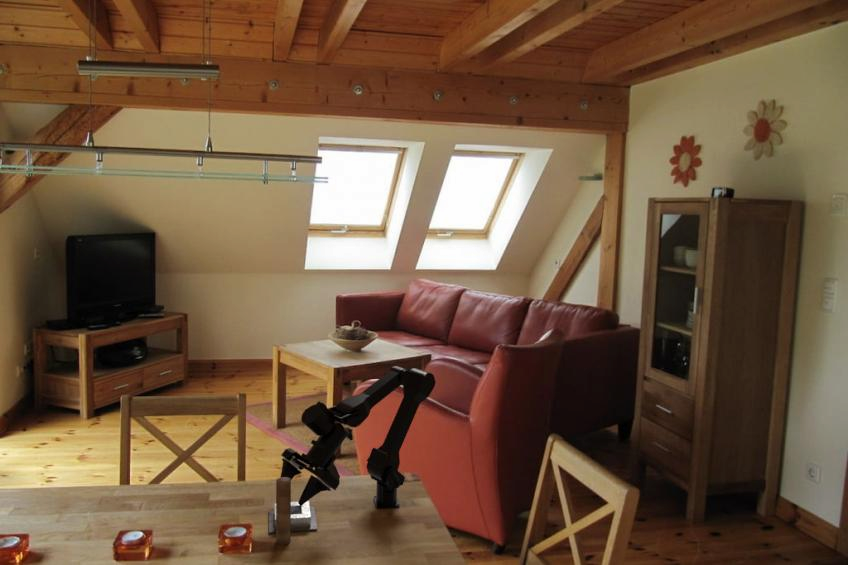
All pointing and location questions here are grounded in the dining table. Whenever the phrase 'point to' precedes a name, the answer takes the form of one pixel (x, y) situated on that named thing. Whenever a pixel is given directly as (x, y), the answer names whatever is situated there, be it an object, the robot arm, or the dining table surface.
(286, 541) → the walnut peg
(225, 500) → the dining table surface
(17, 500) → the dining table surface
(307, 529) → the steel socket
